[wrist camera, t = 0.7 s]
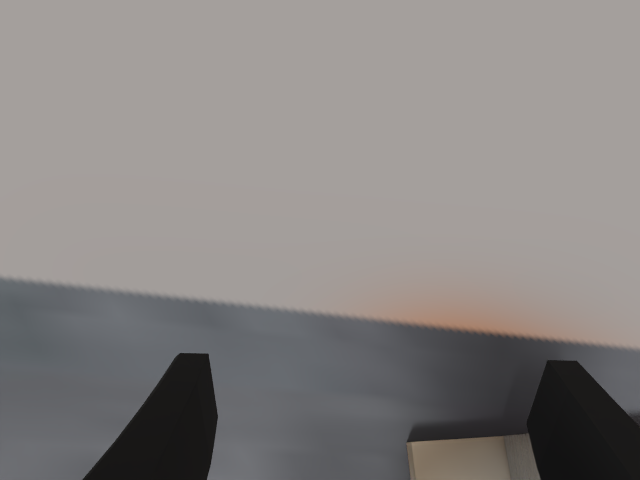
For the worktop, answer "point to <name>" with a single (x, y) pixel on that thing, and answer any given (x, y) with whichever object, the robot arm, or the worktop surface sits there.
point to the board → (459, 459)
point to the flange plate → (521, 457)
